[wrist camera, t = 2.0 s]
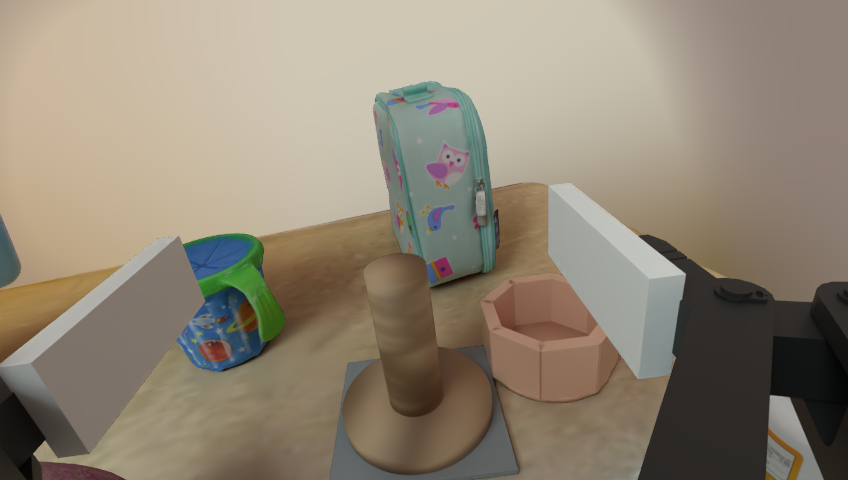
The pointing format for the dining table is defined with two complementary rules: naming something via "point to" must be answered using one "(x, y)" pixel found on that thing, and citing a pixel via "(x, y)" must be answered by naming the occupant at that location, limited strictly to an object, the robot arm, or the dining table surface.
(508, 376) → the bowl
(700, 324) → the robot arm
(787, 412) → the supplement bottle
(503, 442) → the mat
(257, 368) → the dining table surface
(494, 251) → the lunch box
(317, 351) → the dining table surface
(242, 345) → the snack cup
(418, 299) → the paper towel holder
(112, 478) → the vegetable
